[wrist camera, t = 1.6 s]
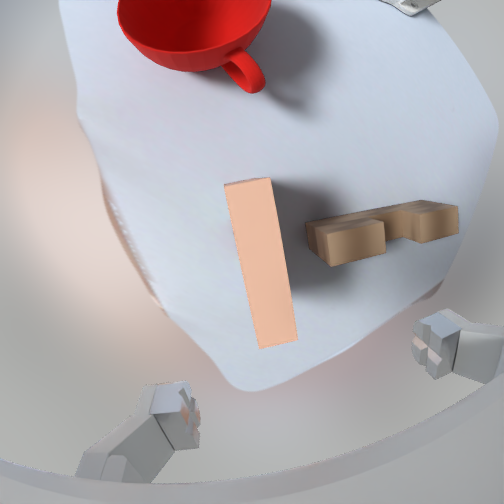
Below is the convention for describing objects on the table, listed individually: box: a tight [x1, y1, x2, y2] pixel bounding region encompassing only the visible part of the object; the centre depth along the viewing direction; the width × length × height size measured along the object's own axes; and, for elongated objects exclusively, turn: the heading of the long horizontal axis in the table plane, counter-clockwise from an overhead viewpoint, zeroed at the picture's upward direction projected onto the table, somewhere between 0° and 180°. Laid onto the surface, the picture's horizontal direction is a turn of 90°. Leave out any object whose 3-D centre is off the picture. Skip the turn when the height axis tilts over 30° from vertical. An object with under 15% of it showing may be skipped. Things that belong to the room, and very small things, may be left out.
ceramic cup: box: [117, 0, 271, 94], centre depth 22 cm, size 13×17×10 cm
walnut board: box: [305, 200, 459, 267], centre depth 29 cm, size 16×3×7 cm, turn 101°
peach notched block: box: [224, 178, 298, 349], centre depth 26 cm, size 3×12×12 cm, turn 11°
